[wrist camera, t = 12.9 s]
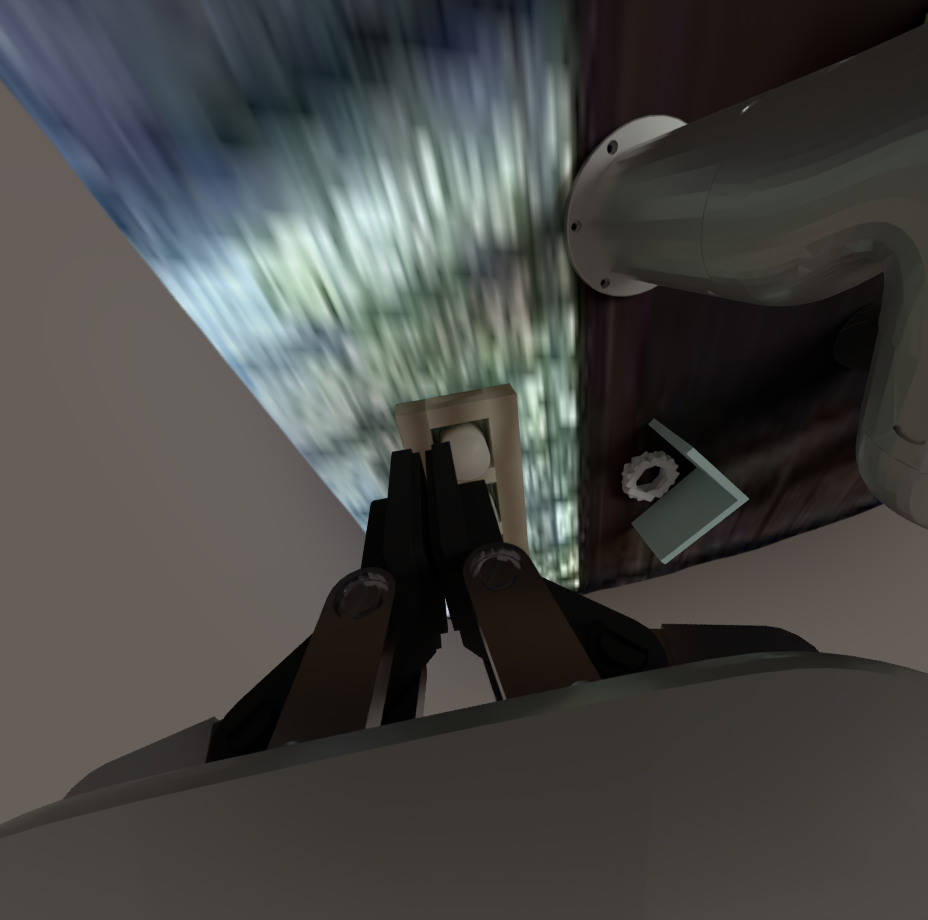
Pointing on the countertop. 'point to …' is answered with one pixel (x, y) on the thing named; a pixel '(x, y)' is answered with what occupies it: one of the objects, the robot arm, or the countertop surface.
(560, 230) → the countertop surface
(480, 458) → the beige egg
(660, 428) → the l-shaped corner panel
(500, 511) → the wooden rectangular frame
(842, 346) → the travel mug
